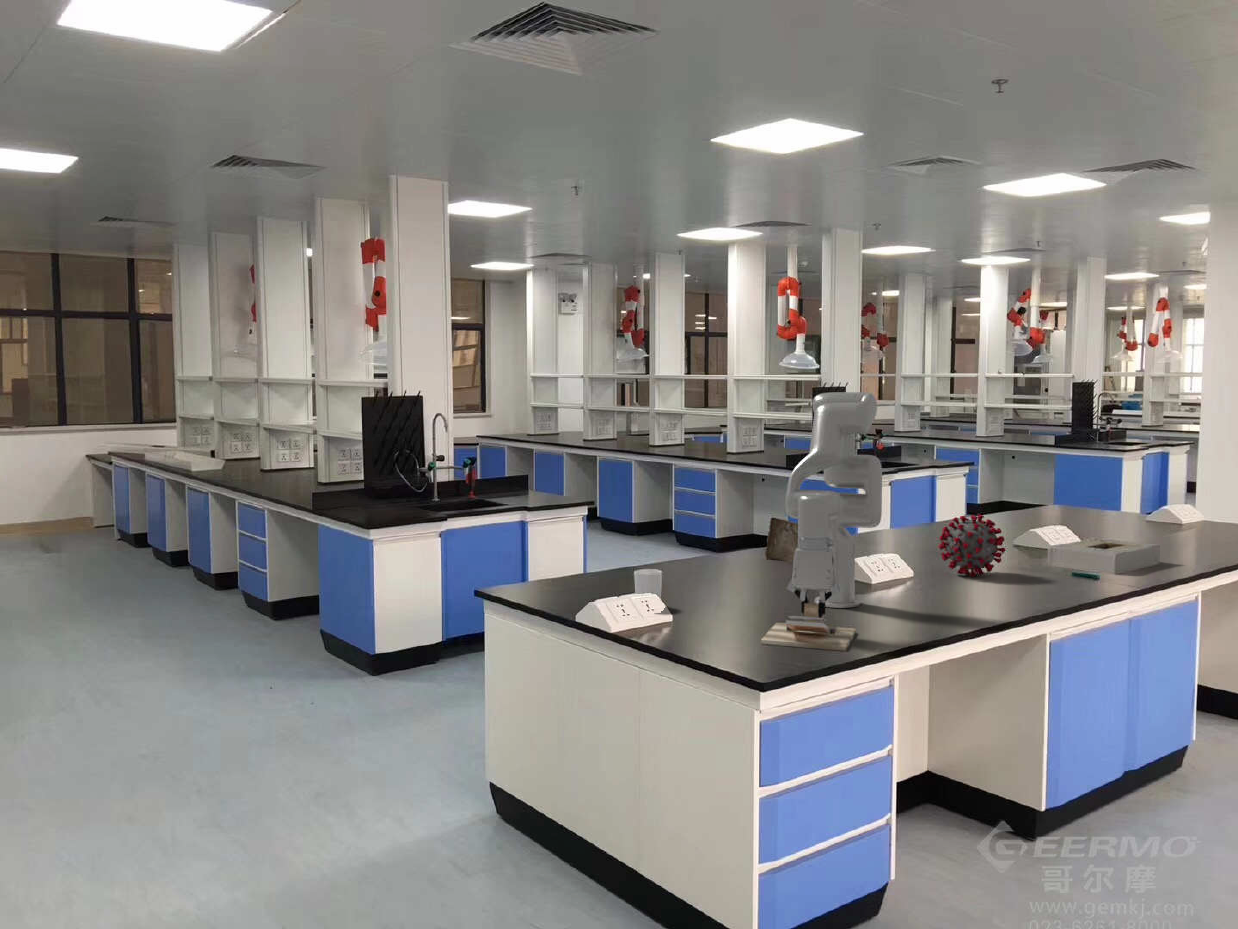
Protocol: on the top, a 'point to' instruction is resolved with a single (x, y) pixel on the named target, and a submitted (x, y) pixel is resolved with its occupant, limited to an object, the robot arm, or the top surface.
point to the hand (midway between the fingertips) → (813, 615)
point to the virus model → (971, 544)
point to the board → (809, 638)
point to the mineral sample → (782, 540)
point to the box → (1104, 555)
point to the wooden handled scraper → (810, 613)
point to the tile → (807, 626)
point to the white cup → (648, 581)
